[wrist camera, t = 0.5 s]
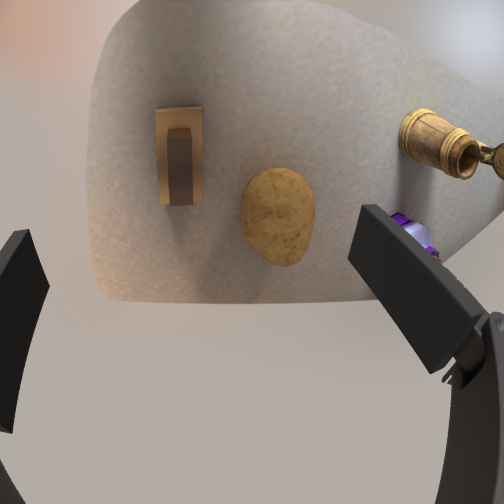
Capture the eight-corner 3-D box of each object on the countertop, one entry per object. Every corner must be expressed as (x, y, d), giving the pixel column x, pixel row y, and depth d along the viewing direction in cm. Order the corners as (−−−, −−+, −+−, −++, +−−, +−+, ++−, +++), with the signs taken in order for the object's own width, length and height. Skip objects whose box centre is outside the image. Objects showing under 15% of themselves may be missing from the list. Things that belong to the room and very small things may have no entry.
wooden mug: (452, 149, 42) (528, 197, 28) (399, 165, 42) (481, 224, 28) (453, 103, 36) (538, 142, 22) (396, 112, 36) (492, 158, 22)
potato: (246, 252, 45) (260, 288, 39) (223, 167, 36) (234, 193, 30) (307, 233, 46) (329, 265, 39) (296, 147, 37) (322, 169, 31)
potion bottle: (417, 223, 50) (457, 261, 41) (385, 253, 53) (421, 295, 43) (402, 195, 46) (448, 234, 36) (367, 229, 48) (407, 273, 39)
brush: (157, 107, 30) (151, 119, 24) (200, 104, 31) (206, 116, 25) (161, 192, 36) (159, 224, 30) (200, 189, 37) (206, 220, 31)
